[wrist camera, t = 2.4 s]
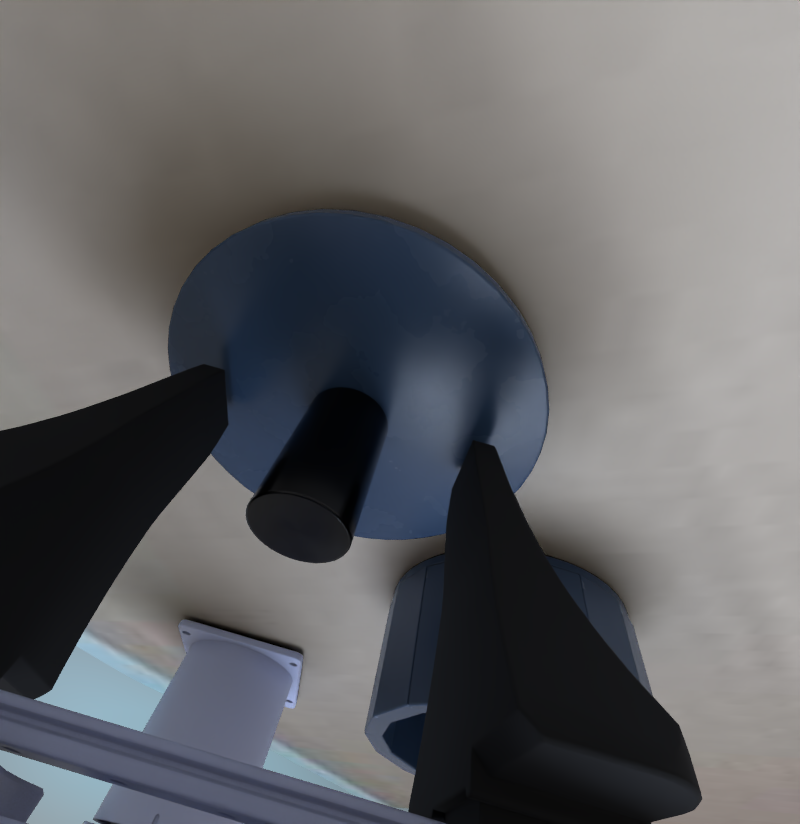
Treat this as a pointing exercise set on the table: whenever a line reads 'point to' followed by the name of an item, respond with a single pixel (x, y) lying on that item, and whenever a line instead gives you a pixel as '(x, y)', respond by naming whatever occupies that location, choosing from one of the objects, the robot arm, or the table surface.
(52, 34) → the table surface
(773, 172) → the table surface
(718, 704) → the table surface
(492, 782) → the robot arm
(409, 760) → the tin
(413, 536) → the lid
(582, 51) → the table surface
